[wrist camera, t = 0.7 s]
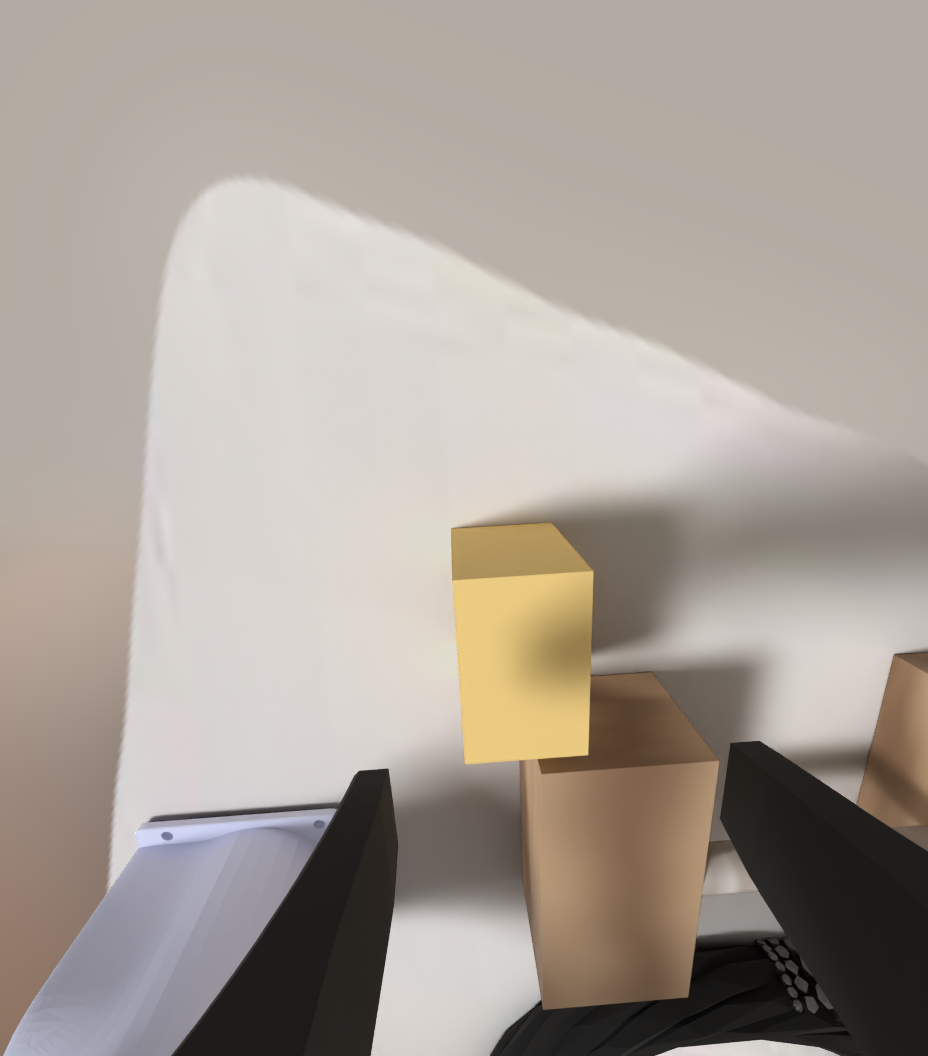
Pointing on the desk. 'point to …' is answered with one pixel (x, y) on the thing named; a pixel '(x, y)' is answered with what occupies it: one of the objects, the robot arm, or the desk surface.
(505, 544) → the yellow block
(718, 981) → the cable lock
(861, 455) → the desk surface
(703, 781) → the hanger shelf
